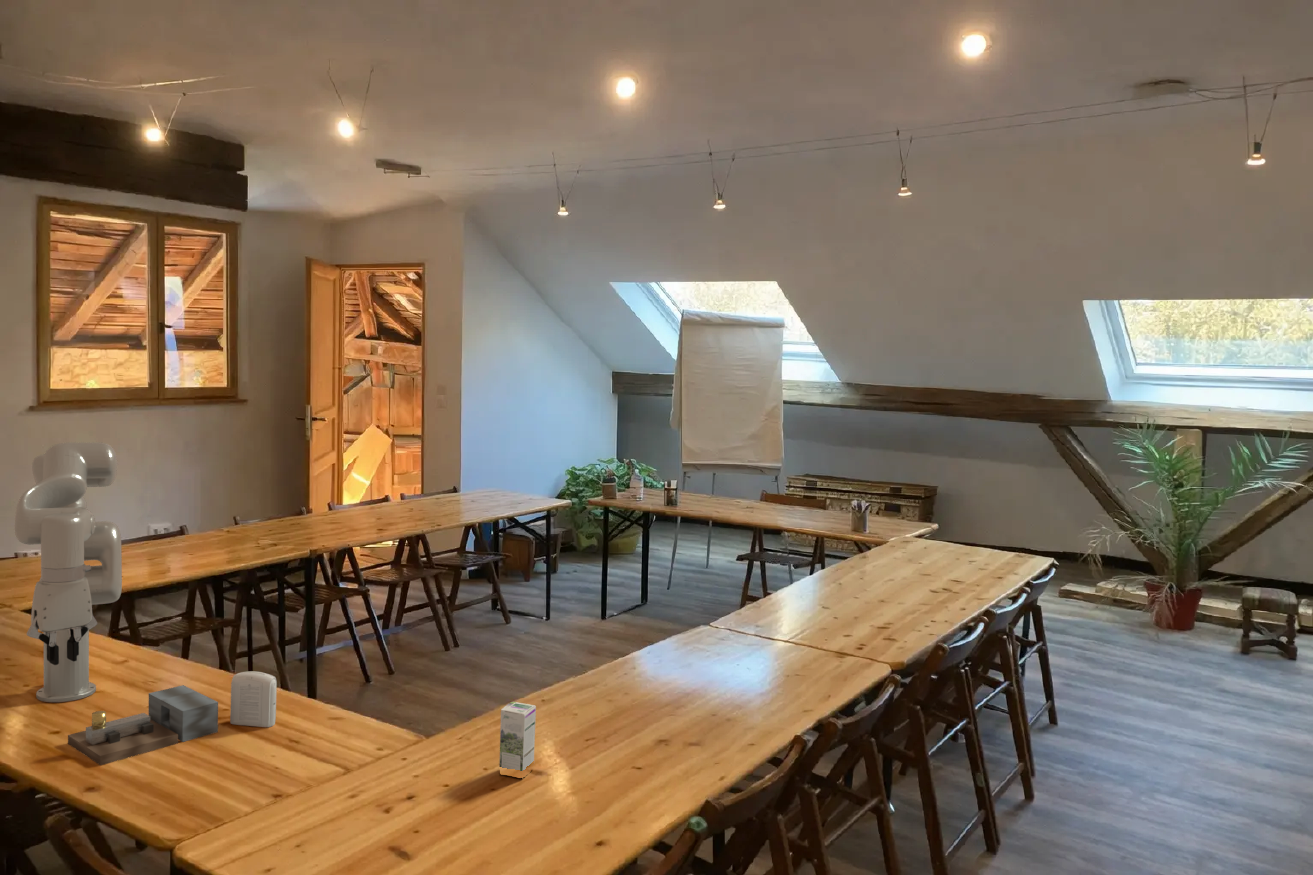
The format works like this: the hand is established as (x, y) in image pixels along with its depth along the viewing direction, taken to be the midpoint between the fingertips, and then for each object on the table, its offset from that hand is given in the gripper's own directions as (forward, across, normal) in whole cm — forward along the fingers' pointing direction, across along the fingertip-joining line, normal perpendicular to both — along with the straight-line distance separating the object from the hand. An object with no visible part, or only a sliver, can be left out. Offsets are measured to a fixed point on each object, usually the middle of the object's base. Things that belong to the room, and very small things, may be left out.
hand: (62, 660), depth 199 cm
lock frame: (+21, -17, 0) cm, 27 cm away
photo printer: (+21, -37, +9) cm, 44 cm away
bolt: (+19, -11, 0) cm, 22 cm away
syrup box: (+21, -60, +72) cm, 97 cm away
